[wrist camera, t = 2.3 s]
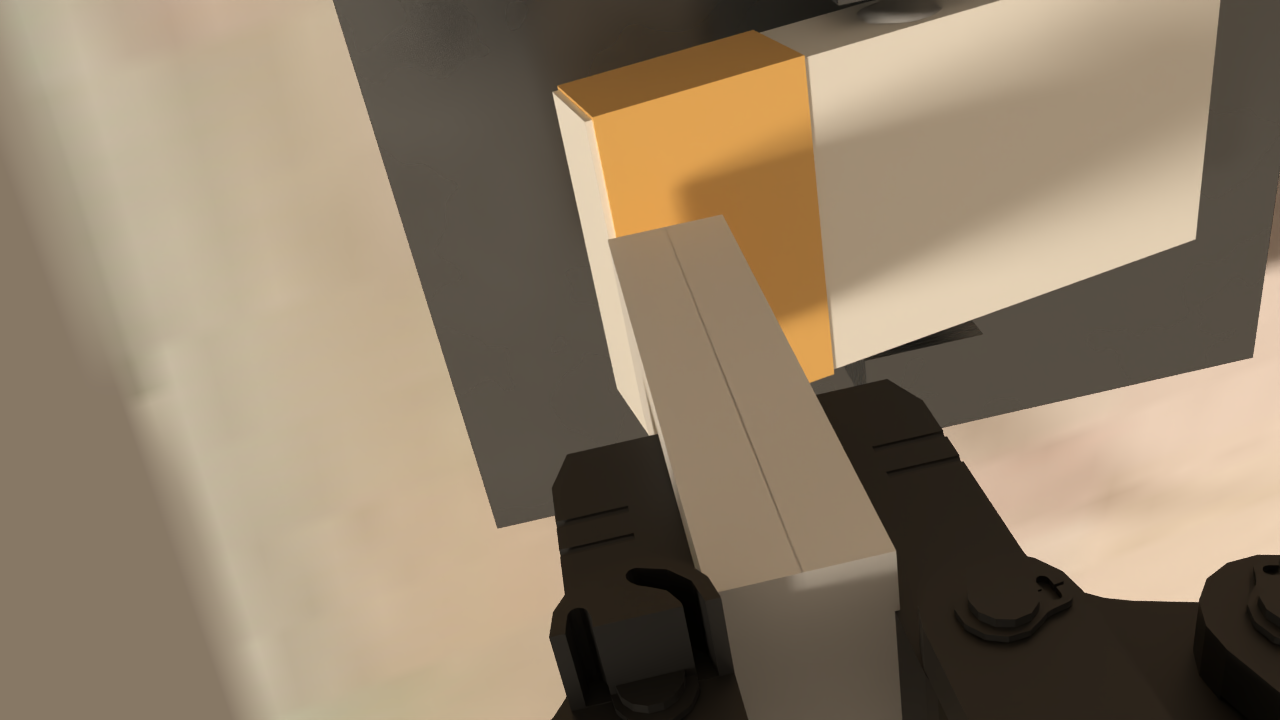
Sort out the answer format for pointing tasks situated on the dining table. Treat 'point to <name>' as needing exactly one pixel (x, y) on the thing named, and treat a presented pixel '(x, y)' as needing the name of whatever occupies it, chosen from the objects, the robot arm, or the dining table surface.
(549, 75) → the breaker box
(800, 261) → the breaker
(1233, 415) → the dining table surface
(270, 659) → the dining table surface
